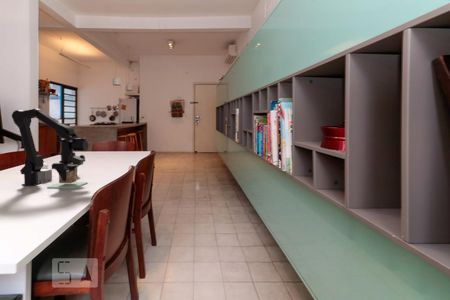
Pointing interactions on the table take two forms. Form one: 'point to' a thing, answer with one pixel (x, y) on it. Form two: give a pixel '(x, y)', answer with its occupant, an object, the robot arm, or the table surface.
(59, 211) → the table surface
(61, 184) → the sage mat
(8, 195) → the table surface
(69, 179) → the tan cube
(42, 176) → the medium grey block
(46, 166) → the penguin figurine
